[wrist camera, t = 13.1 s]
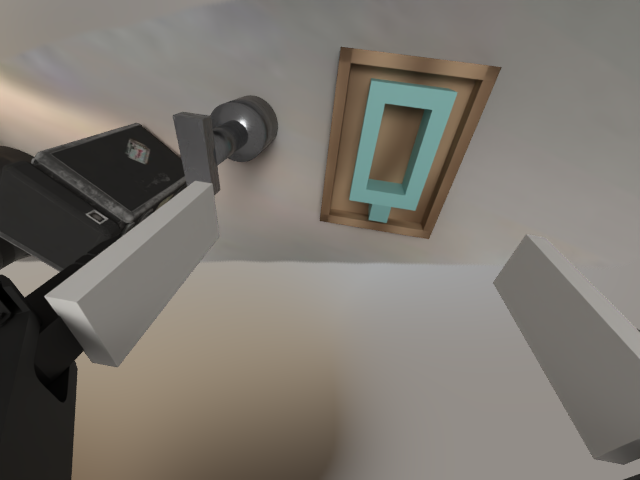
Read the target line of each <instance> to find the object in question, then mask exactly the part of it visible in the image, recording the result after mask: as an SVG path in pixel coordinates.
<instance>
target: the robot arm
mask: <svg viewBox="0 0 640 480" xmlns="http://www.w3.org/2000/svg"><path fill="white" fill-rule="evenodd" d="M33 158H34V157H32V156H30V155H28V154H26V153H24V152H21V151H19V150H16V149H13V148H9V147H5V146H0V177H1V173H2V169H3V167H4V166H5V165H7V164H11V163H14V162H17V161H27V162H30V163H31V161H32V159H33ZM218 238H219V228H218V221H217V213H216V206H215V198H214V191H213V184H212V183H206V182H200V181H194V182H193V183H192V184H190V185H189V186H188V187H186V188H185V189H184V190H182V191H181V192H180V193H178V194H177V195H176V196H175V197H173V198H172V199H171V200H169V201H168V202H167V203H165V204H164V205H163V206H161V207H160V208H159V209H158V210H156V211H155V212H154V213H152V214H151V215H150V216H148V217H147V218H146V219H144V220H143V221H142V222H141V223H139V224H138V225H137V226H135V227H134V228H133V229H131V230H130V231H129V232H127V233H126V234H125V235H124V236H122V235H117V236H115V237H112V238H110V239H108V240H106V241H103V242H101V243H99V244H98V245H97V246H95V247H94V248H93V249H91V250H90V251H88V252H87V254H86V255H83V256H82V257H80V258H79V259H77V260H76V261H75V263H74V264H70V265H69V266H68V267H66V268H65V269H64V270H62V271H61V272H60V273H58V274H57V275H55V276H54V277H53V278H51V279H50V280H48V281H47V282H46V283H44V284H43V285H42V286H40V287H39V288H37V289H36V290H35V291H34V292H32V293H31V294H29V295H28V296H27V297H25V298H24V296H23V295H22V294H21V293H20V291H19V290H18V289H17V288H16V286H15V285H14V284H13V283H12V281H11V280H10V279H9V278H7V277H6V276H4V275H0V480H71V474H72V457H73V437H74V421H75V402H76V385H77V366H76V362H75V361H74V360H75V359H76V358H77V357H78V356H79V355H80V354H81V353H82V352H83V351H84V352H85V354H86V355H87V356H88V358H89V359H90V360H91V362H93V363H98V364H103V365H108V366H114V367H118V366H119V365H120V364H121V363H122V361H123V360H124V359H125V357H126V356H127V355H128V354H129V352H130V351H131V350H132V348H133V347H134V346H135V344H136V343H137V342H138V341H139V339H140V338H141V337H142V335H143V334H144V333H145V332H146V330H147V329H148V328H149V326H150V325H151V324H152V323H153V321H154V320H155V319H156V317H157V316H158V315H159V314H160V312H161V311H162V310H163V308H164V307H165V306H166V305H167V303H168V302H169V301H170V299H171V298H172V297H173V296H174V294H175V293H176V292H177V290H178V289H179V288H180V287H181V285H182V284H183V283H184V281H185V280H186V279H187V278H188V276H189V275H190V273H191V272H192V271H193V270H194V268H195V267H196V266H197V265H198V263H199V262H200V261H201V260H202V258H203V257H204V256H205V254H206V253H207V252H208V251H209V249H210V248H211V247H212V245H213V244H214V243H215V242H216V240H217V239H218ZM28 256H32V255H31V254H29V253H27V252H25V251H24V250H22V249H20V248H19V247H17V246H15V245H14V244H12V243H10V242H8V241H7V240H5V239H3V238H2V237H0V269H2V268H4V267H5V266H7V265H9V264H10V263H12V262H14V261H16V260H18V259H21V258H25V257H28ZM493 284H494V285H495V287H496V289H497V290H498V292H499V294H500V296H501V298H502V299H503V301H504V303H505V305H506V306H507V308H508V309H509V311H510V313H511V315H512V317H513V318H514V320H515V322H516V324H517V326H518V327H519V329H520V331H521V332H522V334H523V336H524V338H525V340H526V341H527V343H528V345H529V347H530V348H531V350H532V352H533V353H534V355H535V357H536V359H537V361H538V362H539V364H540V366H541V368H542V369H543V371H544V373H545V374H546V376H547V378H548V380H549V382H550V383H551V385H552V387H553V388H554V390H555V392H556V394H557V395H558V397H559V399H560V401H561V402H562V404H563V406H564V408H565V409H566V411H567V413H568V415H569V416H570V418H571V420H572V422H573V423H574V425H575V427H576V429H577V430H578V432H579V434H580V436H581V437H582V439H583V441H584V442H585V444H586V446H587V448H588V450H589V451H590V453H591V455H592V457H593V458H594V459H597V460H602V461H607V462H612V463H618V464H623V465H624V464H627V463H629V462H632V461H634V460H636V459H639V458H640V330H638V329H637V328H635V327H634V326H633V325H632V324H631V323H630V322H629V321H628V320H627V319H626V318H625V317H624V316H623V315H622V314H621V312H619V310H617V308H615V306H613V304H611V302H609V300H608V299H606V297H604V296H603V295H602V294H601V292H600V291H599V290H598V289H597V288H596V287H594V285H593V284H592V283H591V282H589V280H587V279H586V277H585V276H584V275H583V274H582V273H580V272H579V270H578V269H577V268H576V267H575V266H574V265H573V264H572V263H571V262H570V261H569V260H568V259H567V258H566V257H565V256H564V255H563V254H562V253H561V252H560V251H559V250H558V249H557V248H556V247H555V246H554V245H553V244H552V243H551V242H550V241H549V240H548V239H547V238H546V237H540V236H534V235H528V234H526V235H525V237H524V238H523V240H522V241H521V243H520V244H519V246H518V247H517V249H516V250H515V251H514V253H513V254H512V256H511V257H510V259H509V260H508V262H507V263H506V264H505V266H504V267H503V269H502V270H501V272H500V273H499V275H498V276H497V278H496V279H495V280H494V282H493ZM624 480H640V474H638V475H635V476H632V477H630V478H627V479H624Z"/></svg>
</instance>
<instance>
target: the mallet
mask: <svg viewBox="0 0 640 480" xmlns="http://www.w3.org/2000/svg"><path fill="white" fill-rule="evenodd" d="M173 120H174V124H175V129H176V134H177V139H178V144H179V149H180V154H181V159H182V164H183V169H184V174H185V178H186V183H187V187H188V186H189V185H190V184H192V183H193V182H194V181H200V182H206V183H212V184H213V191H214V195H215V194H216V193H218V192H219V191H220V183H219V175H218V167H217V165H219V164H220V163H221V162H223V161H224V160H225V159H227V158H229V159H231V160H233V161H237V162H246V161H249V160H252V159H253V158H255V157H256V156H257V155H258V154H259V153H260V152H261V151H262V150H264V149H265V148H266V147H267V146H268V145H269V144H270V143H271V142H272V141H273V140H274V138H275V136H276V134H277V130H278V122H277V118H276V115H275V112H274V111H273V109H272V107H271V106H270V105H269V104H268V103H267V102H266V101H265V100H263V99H261V98H259V97H257V96H244V97H241V98H238V99H236V100H233V101H230V102H227V103H224V104H221V105H219V106H218V107H216V108H215V109H214V110H213V112H212V113H211V115H210V116H207V115H201V114H194V113H187V112H181V113H178V114H175V115H173Z"/></svg>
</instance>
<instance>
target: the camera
mask: <svg viewBox="0 0 640 480" xmlns="http://www.w3.org/2000/svg"><path fill="white" fill-rule="evenodd" d="M186 187H187V183H186V178H185V174H184V169H183V164H182V160H181V159H180V158H179V157H178V156H177V155H175V154H174V153H173V152H172V151H171V150H169V149H168V148H167V147H166V146H165V145H163V144H162V143H161V142H160V141H159V140H158V139H156V138H155V137H154V136H153V135H152V134H150V133H149V132H148V131H147V130H146V129H144V128H143V127H142V125H141V124H139V123H134V124H131V125H128V126H124V127H121V128H118V129H114V130H111V131H108V132H104V133H101V134H97V135H94V136H91V137H87V138H84V139H81V140H77V141H74V142H70V143H67V144H64V145H60V146H57V147H54V148H50V149H47V150H44V151H40V152H38V153H37V154H36V156H35V157H34V158H33V159H32V161H31V163H30V162H27V161H17V162H14V163H11V164H7V165H5V166H4V167H3V169H2V173H1V177H0V237H2V238H3V239H5V240H7V241H8V242H10V243H12V244H14V245H15V246H17V247H19V248H20V249H22V250H24V251H25V252H27V253H29V254H31V255H32V256H34V257H36V258H37V259H39V260H41V261H42V262H44V263H46V264H48V265H49V266H51V267H53V268H54V269H56V270H58V271H60V272H61V271H62V270H64V269H65V268H66V267H68V266H69V265H70V264H74V263H75V261H76V260H77V259H79V258H80V257H82V256H83V255H86V254H87V252H88V251H90V250H91V249H93V248H94V247H95V246H97V245H98V244H99V243H101V242H103V241H106V240H108V239H110V238H112V237H115V236H117V235H122V236H124V235H125V234H126V233H127V232H129V231H130V230H131V229H133V228H134V227H135V226H137V225H138V224H139V223H141V222H142V221H143V220H144V219H146V218H147V217H148V216H150V215H151V214H152V213H154V212H155V211H156V210H158V209H159V208H160V207H161V206H163V205H164V204H165V203H167V202H168V201H169V200H171V199H172V198H173V197H175V196H176V195H177V194H178V193H180V192H181V191H182V190H184V189H185V188H186Z"/></svg>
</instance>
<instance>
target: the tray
mask: <svg viewBox="0 0 640 480" xmlns="http://www.w3.org/2000/svg"><path fill="white" fill-rule="evenodd" d="M500 70H501V67H495V66H487V65H480V64H472V63H464V62H456V61H448V60H440V59H432V58H425V57H417V56H409V55H401V54H393V53H385V52H377V51H370V50H362V49H354V48H346V47H341V50H340V58H339V66H338V74H337V83H336V91H335V99H334V108H333V116H332V124H331V132H330V141H329V149H328V157H327V165H326V174H325V182H324V190H323V198H322V207H321V215H320V221H324V222H330V223H336V224H342V225H348V226H354V227H360V228H366V229H372V230H378V231H384V232H390V233H396V234H402V235H408V236H414V237H420V238H426V239H429V238H430V235H431V233H432V230H433V228H434V226H435V223H436V221H437V219H438V216H439V214H440V212H441V209H442V207H443V204H444V202H445V200H446V197H447V195H448V193H449V190H450V188H451V186H452V183H453V181H454V178H455V176H456V174H457V171H458V169H459V167H460V164H461V162H462V160H463V157H464V155H465V152H466V150H467V148H468V145H469V143H470V141H471V138H472V136H473V134H474V131H475V129H476V126H477V124H478V122H479V119H480V117H481V115H482V112H483V110H484V108H485V105H486V103H487V100H488V98H489V96H490V93H491V91H492V89H493V86H494V84H495V82H496V79H497V77H498V74H499V72H500ZM371 78H374V79H382V80H389V81H397V82H404V83H412V84H419V85H427V86H434V87H442V88H449V89H451V90H453V91H456V92H458V93H457V96H456V98H455V101H454V104H453V107H452V110H451V112H450V115H449V118H448V121H447V124H446V126H445V129H444V132H443V135H442V138H441V140H440V143H439V146H438V149H437V151H436V154H435V157H434V160H433V163H432V165H431V168H430V171H429V174H428V177H427V179H426V182H425V185H424V188H423V190H422V193H421V196H420V199H419V202H418V204H417V207H416V210H415V211H413V210H407V209H401V208H395V207H391V210H390V213H389V217H388V220H387V223H384V222H378V221H372V220H369V212H368V207H369V203H364V202H358V201H351V200H349V197H350V189H351V184H352V178H353V173H354V167H355V162H356V157H357V151H358V146H359V140H360V135H361V130H362V124H363V119H364V114H365V108H366V103H367V97H368V92H369V87H370V81H371ZM424 110H425V109H422V108H414V107H407V106H400V105H393V104H386V103H385V106H384V111H383V115H382V120H381V124H380V129H379V133H378V138H377V142H376V147H375V151H374V156H373V160H372V165H371V169H370V174H369V178H368V179H374V180H380V181H386V182H393V183H399V184H402V182H403V179H404V176H405V172H406V169H407V166H408V162H409V159H410V156H411V153H412V149H413V146H414V143H415V139H416V136H417V133H418V130H419V126H420V123H421V120H422V116H423V113H424Z"/></svg>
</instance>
